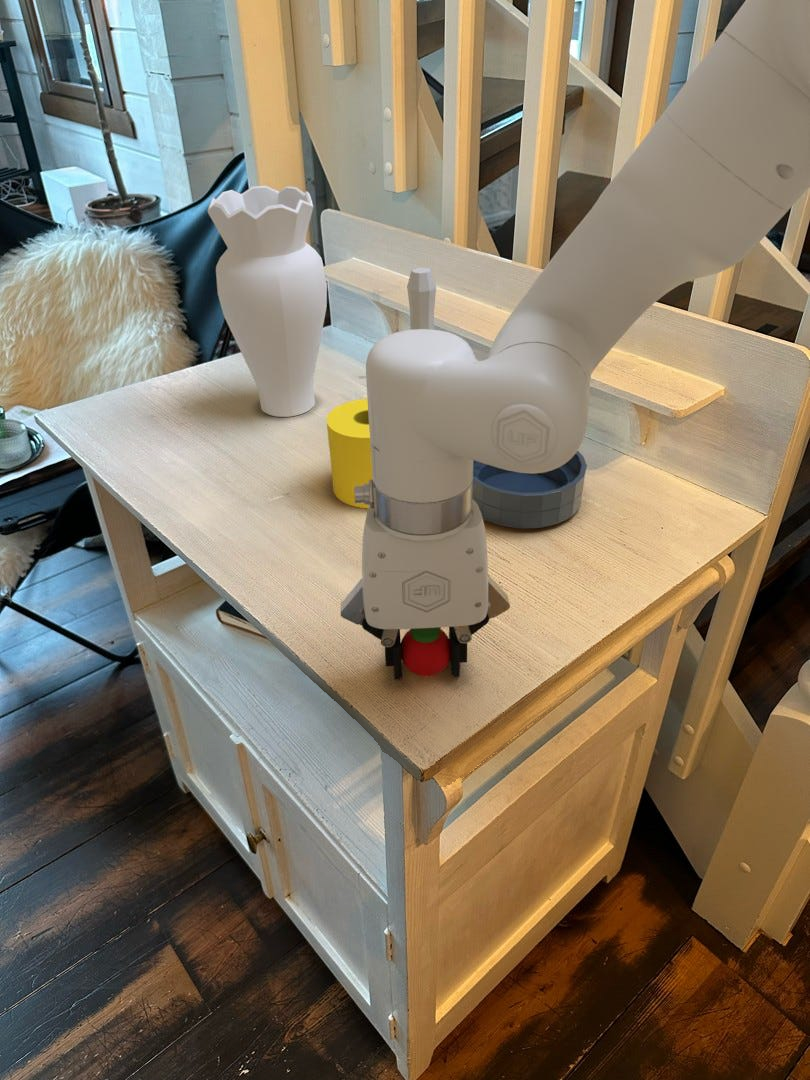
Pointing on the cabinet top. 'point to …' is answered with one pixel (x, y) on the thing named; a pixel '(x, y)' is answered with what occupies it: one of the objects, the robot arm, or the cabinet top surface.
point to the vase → (272, 291)
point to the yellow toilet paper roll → (350, 449)
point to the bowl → (529, 494)
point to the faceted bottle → (421, 298)
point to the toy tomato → (425, 651)
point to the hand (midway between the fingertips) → (425, 665)
